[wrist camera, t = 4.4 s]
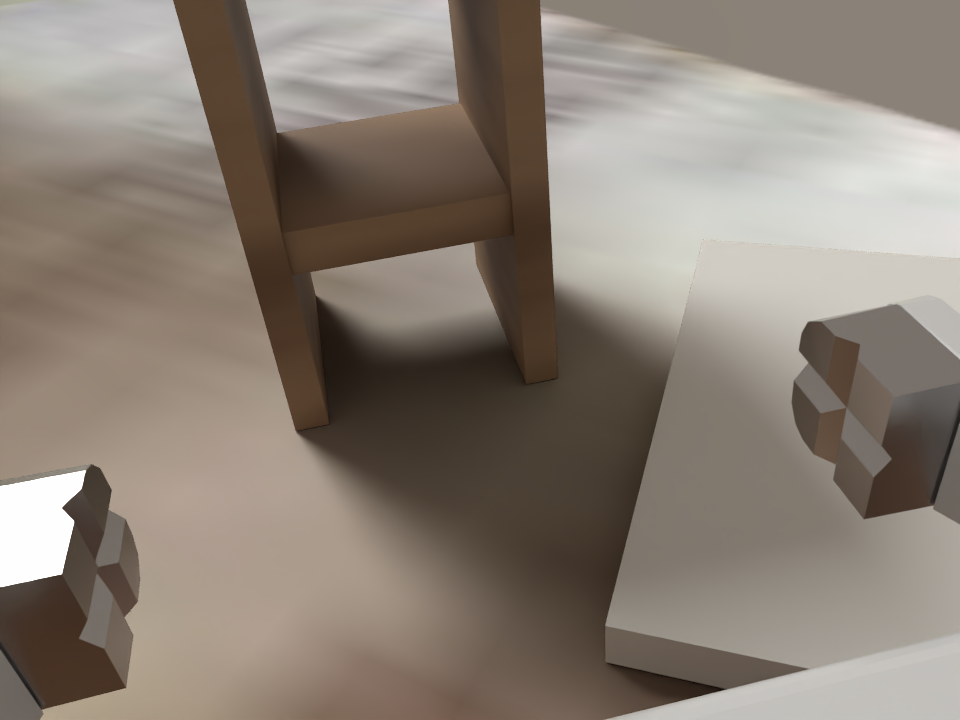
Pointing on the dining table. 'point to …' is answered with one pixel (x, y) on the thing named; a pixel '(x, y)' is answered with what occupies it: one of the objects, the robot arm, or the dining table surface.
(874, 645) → the mat
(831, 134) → the dining table surface
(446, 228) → the stool
